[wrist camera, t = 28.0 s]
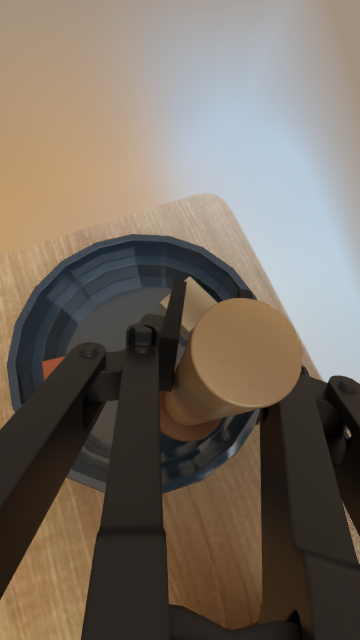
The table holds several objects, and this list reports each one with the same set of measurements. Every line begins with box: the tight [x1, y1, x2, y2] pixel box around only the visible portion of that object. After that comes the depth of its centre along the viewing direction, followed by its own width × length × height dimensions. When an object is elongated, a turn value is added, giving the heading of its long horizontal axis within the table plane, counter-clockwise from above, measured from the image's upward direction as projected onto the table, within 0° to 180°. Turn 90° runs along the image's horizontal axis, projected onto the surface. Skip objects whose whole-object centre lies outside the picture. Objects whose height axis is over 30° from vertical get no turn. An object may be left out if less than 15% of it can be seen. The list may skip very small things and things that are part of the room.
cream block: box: [160, 276, 217, 341], centre depth 26 cm, size 4×4×4 cm
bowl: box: [7, 234, 260, 494], centre depth 24 cm, size 19×19×6 cm
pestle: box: [159, 298, 302, 442], centre depth 15 cm, size 5×5×15 cm
